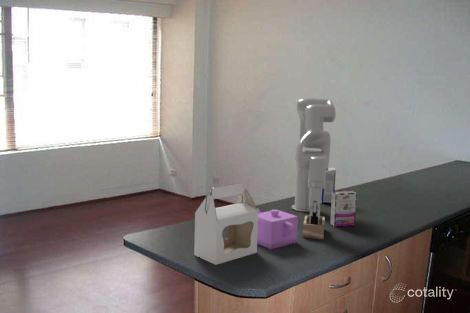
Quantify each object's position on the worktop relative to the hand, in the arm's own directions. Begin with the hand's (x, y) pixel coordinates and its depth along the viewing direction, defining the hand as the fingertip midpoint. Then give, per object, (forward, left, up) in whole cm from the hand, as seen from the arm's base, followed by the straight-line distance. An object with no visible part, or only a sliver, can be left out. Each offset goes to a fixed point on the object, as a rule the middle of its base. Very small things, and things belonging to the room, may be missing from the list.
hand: (314, 222), depth 233 cm
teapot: (+16, -17, -5) cm, 24 cm away
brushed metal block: (0, 0, -2) cm, 2 cm away
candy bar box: (-17, +13, -5) cm, 22 cm away
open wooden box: (0, 0, -5) cm, 5 cm away
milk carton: (-59, +5, -5) cm, 60 cm away
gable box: (+37, -33, -5) cm, 50 cm away
